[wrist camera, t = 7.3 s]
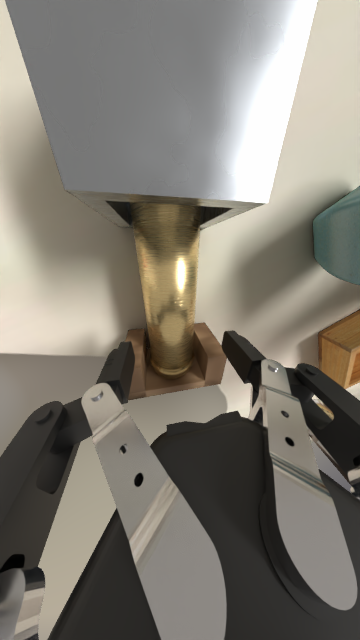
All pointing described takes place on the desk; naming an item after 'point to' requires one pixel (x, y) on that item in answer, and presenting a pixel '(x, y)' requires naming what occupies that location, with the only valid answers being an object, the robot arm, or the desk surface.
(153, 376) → the socket
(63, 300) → the desk surface
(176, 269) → the tube
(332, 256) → the flower pot
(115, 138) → the sleeve
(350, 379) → the tray
